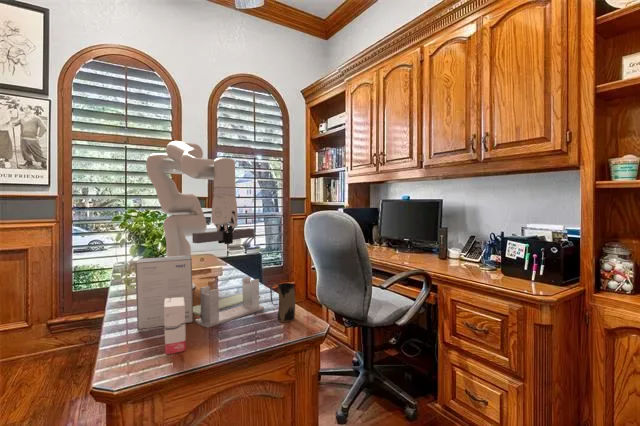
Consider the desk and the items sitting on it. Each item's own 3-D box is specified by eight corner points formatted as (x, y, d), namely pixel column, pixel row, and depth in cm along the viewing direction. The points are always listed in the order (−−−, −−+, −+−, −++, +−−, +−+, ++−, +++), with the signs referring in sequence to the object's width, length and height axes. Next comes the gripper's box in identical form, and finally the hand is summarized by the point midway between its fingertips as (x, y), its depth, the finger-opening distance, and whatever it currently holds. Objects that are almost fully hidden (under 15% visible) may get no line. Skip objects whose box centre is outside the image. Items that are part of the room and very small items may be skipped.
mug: (291, 315, 108) (291, 279, 107) (297, 320, 103) (297, 283, 102) (268, 318, 105) (268, 281, 104) (273, 324, 99) (273, 285, 99)
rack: (194, 322, 101) (194, 288, 101) (251, 304, 118) (251, 275, 118) (207, 327, 97) (206, 292, 96) (264, 308, 114) (264, 278, 113)
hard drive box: (193, 314, 108) (192, 254, 107) (193, 322, 101) (192, 258, 100) (140, 320, 102) (138, 257, 102) (136, 330, 95) (134, 262, 94)
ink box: (186, 351, 82) (185, 305, 81) (164, 355, 80) (163, 307, 79) (184, 338, 90) (184, 295, 89) (165, 341, 88) (164, 297, 87)
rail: (192, 242, 110) (192, 233, 110) (249, 236, 129) (249, 228, 129) (197, 243, 109) (197, 233, 108) (254, 236, 127) (254, 228, 127)
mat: (186, 310, 112) (186, 308, 112) (247, 293, 132) (247, 292, 132) (198, 315, 107) (198, 313, 107) (260, 297, 127) (260, 295, 127)
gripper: (203, 193, 120) (203, 242, 121) (229, 192, 110) (230, 246, 111) (220, 193, 126) (221, 240, 127) (247, 192, 116) (248, 244, 117)
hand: (225, 242), depth 119 cm, fingers closed on rail, 3 cm apart
